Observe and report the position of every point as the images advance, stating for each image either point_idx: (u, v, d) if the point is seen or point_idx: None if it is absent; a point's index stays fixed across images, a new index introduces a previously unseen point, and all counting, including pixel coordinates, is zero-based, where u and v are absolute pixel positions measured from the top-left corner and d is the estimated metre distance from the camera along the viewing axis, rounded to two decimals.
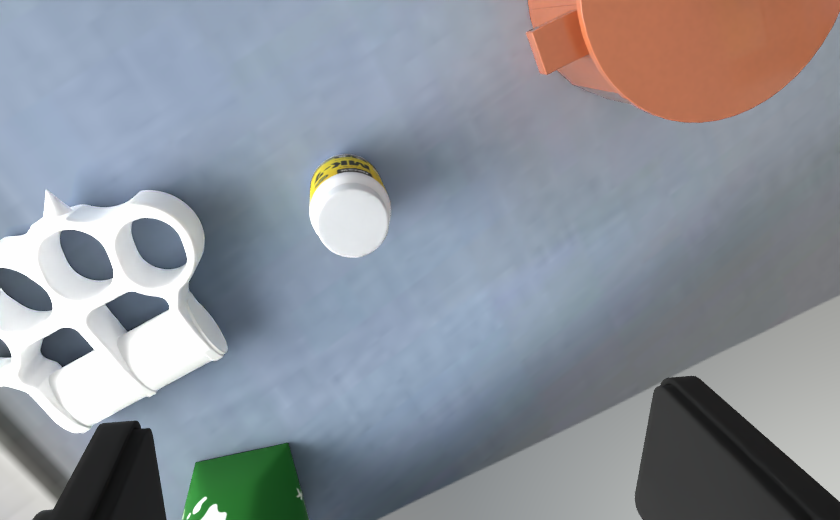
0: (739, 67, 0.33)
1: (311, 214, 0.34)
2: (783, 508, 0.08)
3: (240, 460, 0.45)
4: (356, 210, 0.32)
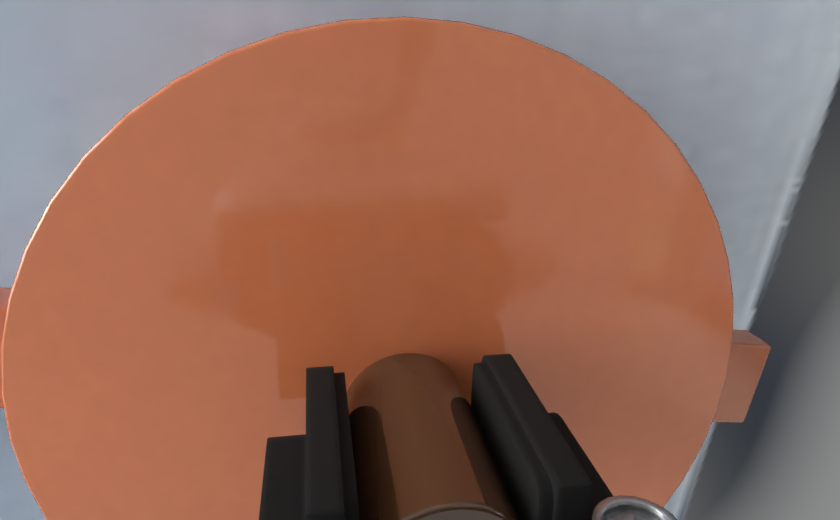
0: None
1: None
2: (531, 468, 0.09)
3: None
4: None
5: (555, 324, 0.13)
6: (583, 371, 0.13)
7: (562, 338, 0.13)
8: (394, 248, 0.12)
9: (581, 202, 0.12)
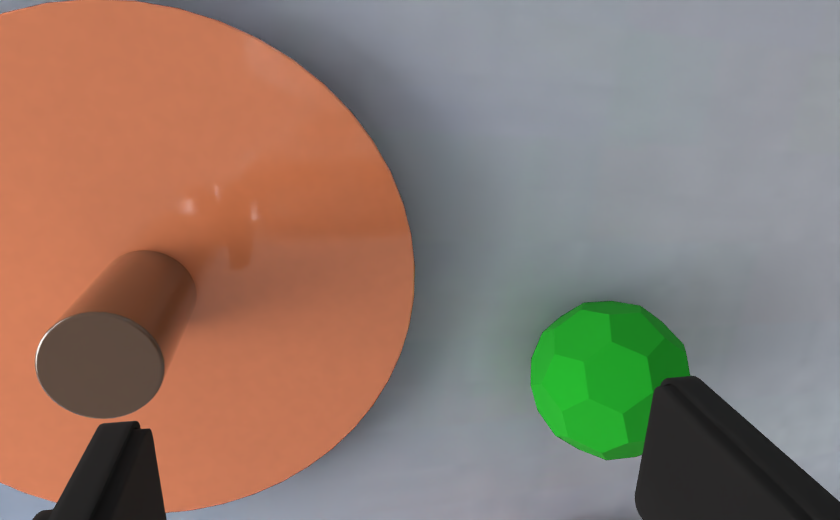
0: None
1: None
2: (783, 508, 0.08)
3: None
4: None
5: (259, 226, 0.17)
6: (291, 264, 0.18)
7: (267, 237, 0.17)
8: (116, 169, 0.16)
9: (257, 130, 0.16)
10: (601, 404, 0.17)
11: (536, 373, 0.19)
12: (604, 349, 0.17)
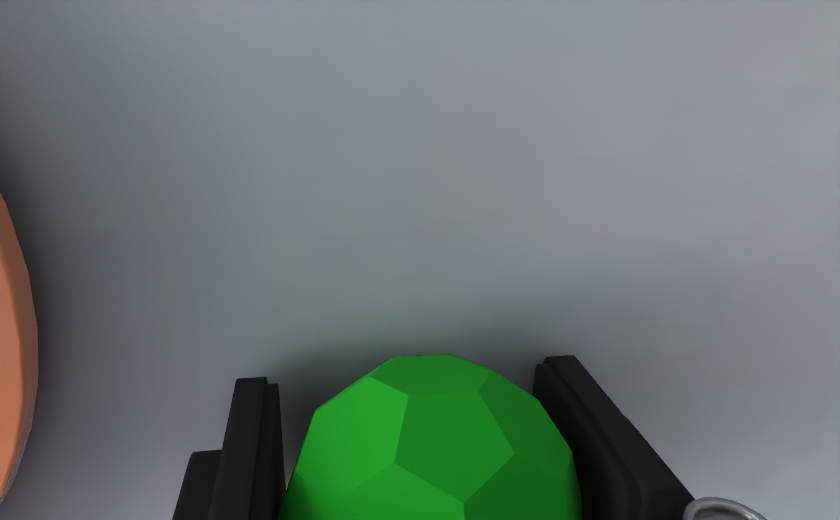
0: None
1: None
2: (614, 470, 0.09)
3: None
4: None
5: None
6: None
7: None
8: None
9: None
10: None
11: (285, 494, 0.10)
12: (377, 480, 0.08)
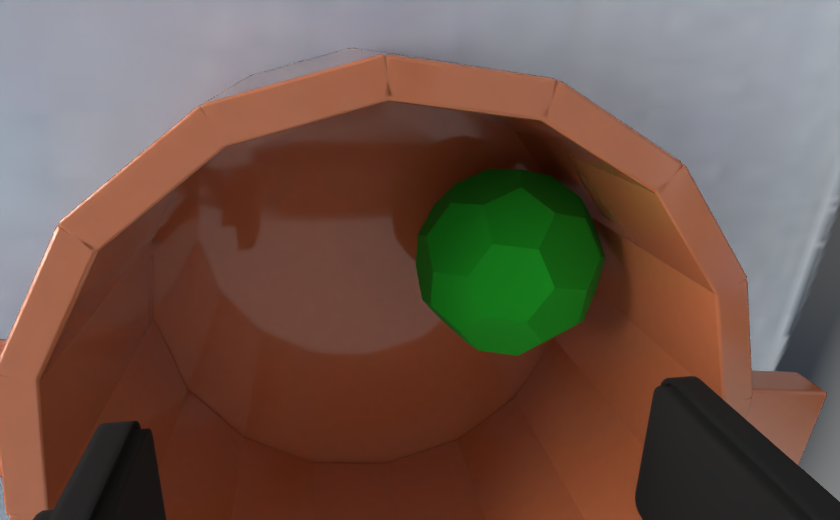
0: None
1: None
2: (783, 508, 0.08)
3: None
4: None
5: None
6: None
7: None
8: None
9: None
10: (567, 215, 0.14)
11: (466, 258, 0.14)
12: (523, 175, 0.15)
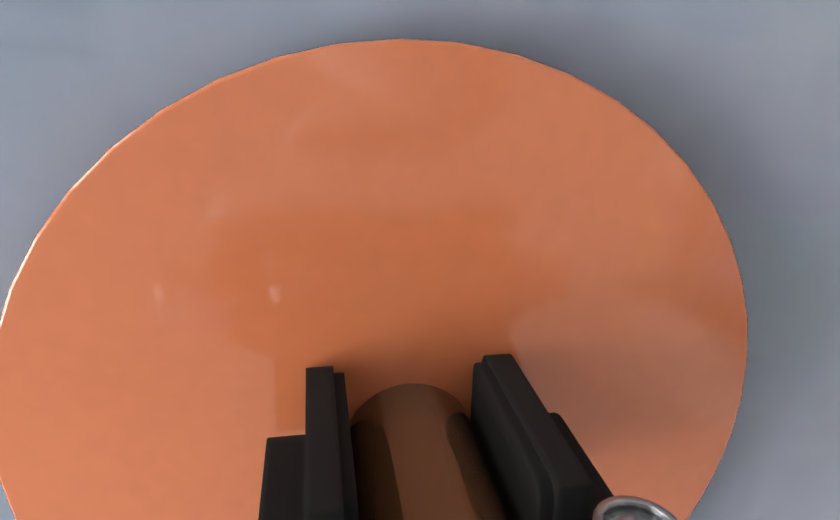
0: None
1: None
2: (531, 468, 0.09)
3: None
4: None
5: (563, 350, 0.12)
6: (593, 397, 0.13)
7: (571, 364, 0.12)
8: (394, 277, 0.11)
9: (589, 225, 0.11)
10: None
11: None
12: None
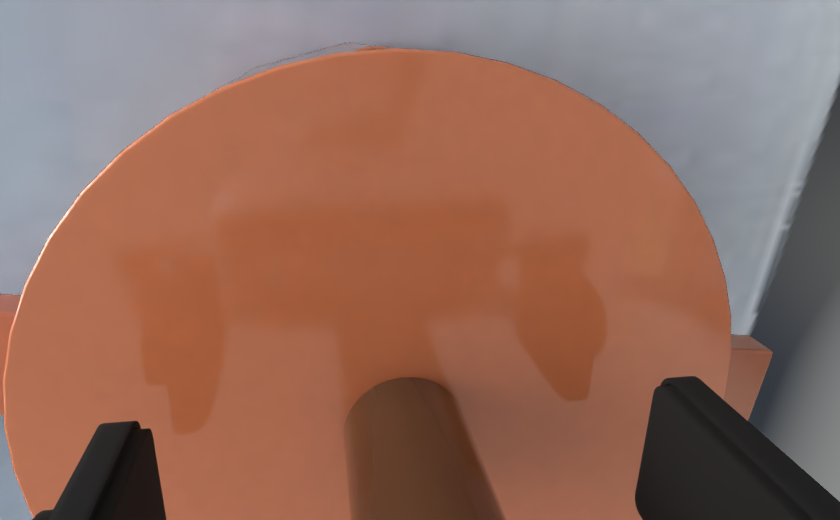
0: None
1: None
2: (783, 508, 0.08)
3: None
4: None
5: (553, 345, 0.13)
6: (582, 391, 0.13)
7: (560, 359, 0.13)
8: (391, 275, 0.12)
9: (576, 225, 0.12)
10: None
11: None
12: None
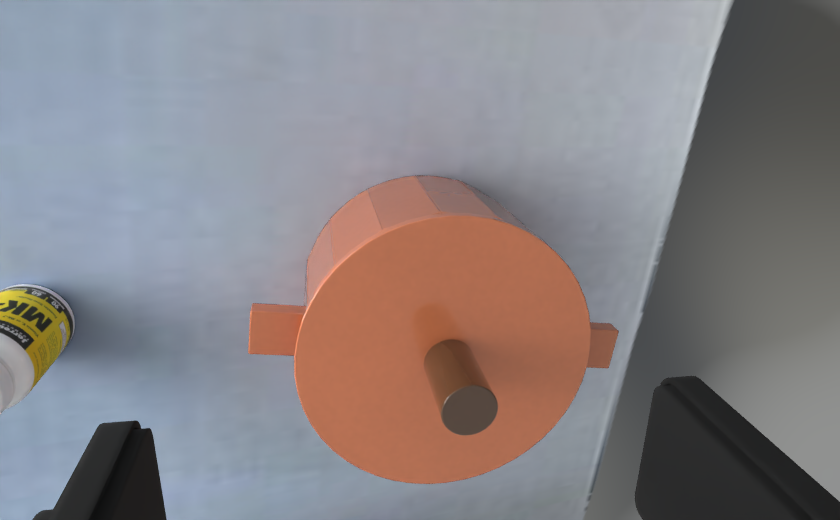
0: (432, 446, 0.32)
1: None
2: (783, 508, 0.08)
3: None
4: None
5: (511, 326, 0.30)
6: (524, 346, 0.31)
7: (515, 332, 0.31)
8: (445, 297, 0.29)
9: (519, 277, 0.30)
10: None
11: None
12: None
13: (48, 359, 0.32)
